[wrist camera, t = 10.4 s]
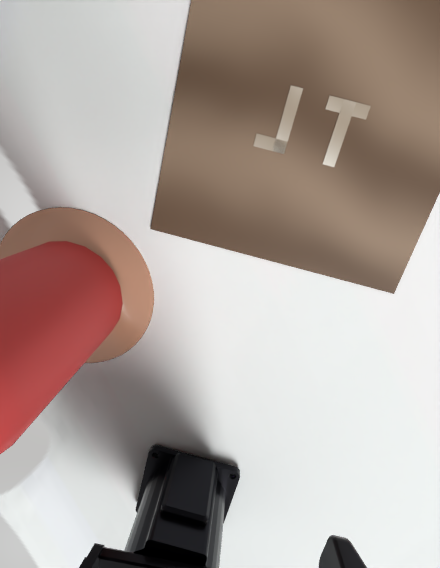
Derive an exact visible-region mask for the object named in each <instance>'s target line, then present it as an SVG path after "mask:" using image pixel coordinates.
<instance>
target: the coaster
mask: <svg viewBox="0 0 440 568" xmlns="http://www.w3.org/2000/svg"><path fill="white" fill-rule="evenodd" d="M49 241H68V242H72V243H75V244H78V245H82V246H85V247H87V248H88V249H90V250H91V251H93V252H94V253H96V254H97V255H99V256H101V257H102V259H103V260H104V261H105V262H106V263H107V264H108V265H109V266H110V268H111V269H112V270H113V272H114V274H115V276H116V278H117V280H118V282H119V284H120V288H121V295H122V302H123V305H122V310H121V315H120V319H119V321H118V322H117V324H116V326H115V327H114V329H113V331H112V332H111V333H110V334H109V335H108V337H107V338H106V339H105V340H104V341H103V342H102V343H101V345H100V346H99V347H98V348H97V349H96V350H95V351H94V353H93V354H92V355H91V356H90V357H89V358H88V359H87V361H86V362H85V363H96V362H103V361H107V360H110V359H113V358H116V357H118V356H120V355H122V354H124V353H125V352H127V351H128V350H129V349H131V348H132V347H133V346H134V345H135V344H136V343H137V342H138V341H139V340H140V339H141V337H142V336H143V334H144V333H145V331H146V329H147V327H148V325H149V322H150V320H151V316H152V312H153V305H154V291H153V284H152V280H151V276H150V273H149V270H148V268H147V265H146V263H145V261H144V259H143V257H142V256H141V254H140V252H139V251H138V249H137V248H136V247H135V245H134V244H133V243H132V241H131V240H130V239H129V238H128V237H127V236H126V235H125V234H124V233H123V232H122V231H120V230H119V229H118V228H117V227H115V226H114V225H113V224H111V223H110V222H108V221H106V220H105V219H103V218H101V217H99V216H97V215H95V214H92V213H89V212H86V211H83V210H78V209H73V208H61V207H60V208H49V209H44V210H40V211H37V212H34V213H32V214H29V215H27V216H26V217H24V218H23V219H21V220H19V221H18V222H17V223H16V224H15V225H13V226H12V227H11V229H10V230H9V231H8V232H7V233H6V235H5V236H4V238H3V240H2V241H1V244H0V259H2V258H5V257H8V256H11V255H13V254H16V253H19V252H22V251H24V250H27V249H30V248H33V247H35V246H38V245H41V244H44V243H46V242H49Z"/></svg>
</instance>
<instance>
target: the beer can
mask: <svg viewBox="0 0 440 568" xmlns="http://www.w3.org/2000/svg"><path fill="white" fill-rule="evenodd" d="M122 305H123V302H122V295H121V288H120V284H119V282H118V280H117V278H116V276H115V274H114V272H113V270H112V269H111V268H110V266H109V265H108V264H107V263H106V262H105V261H104V260H103V259H102V257H101V256H99V255H97V254H96V253H94V252H93V251H91V250H90V249H88V248H87V247H85V246H82V245H78V244H75V243H72V242H68V241H49V242H46V243H44V244H41V245H38V246H35V247H33V248H30V249H27V250H24V251H22V252H19V253H16V254H13V255H11V256H8V257H5V258H2V259H0V454H1V453H3V452H4V451H5V450H7V449H8V448H9V447H10V446H12V445H13V444H14V443H15V442H16V440H17V439H18V438H19V437H20V436H21V435H22V434H23V433H24V431H25V430H26V429H27V428H28V427H29V426H30V425H31V423H32V422H33V421H34V420H35V419H36V418H37V417H38V415H39V414H40V413H41V412H42V411H43V410H44V409H45V407H46V406H47V405H48V404H49V403H50V402H51V401H52V399H53V398H54V397H55V396H56V395H57V394H58V393H59V391H60V390H61V389H62V388H63V387H64V386H65V385H66V383H67V382H68V381H69V380H70V379H71V378H72V377H73V375H74V374H75V373H76V372H77V371H78V370H79V369H80V367H81V366H82V365H83V364H84V363H85V362H86V361H87V359H88V358H89V357H90V356H91V355H92V354H93V353H94V351H95V350H96V349H97V348H98V347H99V346H100V345H101V343H102V342H103V341H104V340H105V339H106V338H107V337H108V335H109V334H110V333H111V332H112V331H113V329H114V327H115V326H116V324H117V322H118V321H119V319H120V315H121V310H122Z"/></svg>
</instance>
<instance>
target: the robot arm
mask: <svg viewBox="0 0 440 568" xmlns="http://www.w3.org/2000/svg"><path fill="white" fill-rule="evenodd" d="M154 452H155V453H154ZM156 453H158V454H156ZM233 474H234V475H233ZM239 478H240V470H239V469H238V468H237V467H235V466H231V465H228V464H224V463H220V462H217V461H213V460H209V459H206V458H202V457H198V456H195V455H191V454H187V453H184V452H180V451H176V450H173V449H169V448H165V447H162V446H158V445H154V446H152V447H151V448H150V451H149V453H148V458H147V462H146V467H145V471H144V475H143V480H142V484H141V489H140V493H139V497H138V502H137V506H136V512H137V515H136V518H135V521H134V524H133V527H132V530H131V533H130V536H129V539H128V542H127V545H126V548H125V550H124V551H122V550H117V549H112V548H106V547H104V545H101V544H96V543H95V544H94V546H93V547H92V549H91V551H90V553H89V554H88V556H87V557H85V558H84V560H83V562H82V564H81V565H80V567H79V568H219V563H220V552H221V541H222V530H223V523H224V520H225V518H226V515H227V512H228V509H229V506H230V504H231V501H232V498H233V495H234V492H235V490H236V487H237V484H238V481H239ZM319 568H367V567H366V566H365V564H364V562H363V561H362V559H361V558H360V556H359V554H358V553H357V551H356V550H355V548H354V547H353V545H352V543H351V542H350V541H349V540H348V539H346V538H344V537H339V536H335V535H331V536H330V537H329V538H328V540H327V543H326V545H325V547H324V549H323V552H322V554H321V557H320V560H319Z"/></svg>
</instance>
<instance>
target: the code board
mask: <svg viewBox="0 0 440 568" xmlns="http://www.w3.org/2000/svg"><path fill="white" fill-rule="evenodd" d="M439 193H440V0H191V5H190V11H189V16H188V22H187V28H186V33H185V39H184V44H183V50H182V56H181V61H180V67H179V72H178V78H177V84H176V89H175V95H174V100H173V106H172V112H171V117H170V123H169V128H168V134H167V139H166V145H165V151H164V156H163V162H162V167H161V173H160V179H159V184H158V190H157V195H156V201H155V207H154V212H153V218H152V223H151V229H153V230H157V231H160V232H164V233H168V234H172V235H175V236H179V237H183V238H187V239H190V240H194V241H198V242H202V243H206V244H209V245H213V246H217V247H221V248H224V249H228V250H232V251H236V252H239V253H243V254H247V255H251V256H254V257H258V258H262V259H266V260H269V261H273V262H277V263H281V264H284V265H288V266H292V267H296V268H299V269H303V270H307V271H311V272H314V273H318V274H322V275H326V276H329V277H333V278H337V279H341V280H345V281H348V282H352V283H356V284H360V285H363V286H367V287H371V288H375V289H378V290H382V291H386V292H390V293H393V294H394V292H395V290H396V288H397V286H398V283H399V281H400V279H401V277H402V275H403V272H404V270H405V268H406V266H407V263H408V261H409V259H410V257H411V255H412V252H413V250H414V248H415V246H416V244H417V241H418V239H419V237H420V235H421V232H422V230H423V228H424V226H425V224H426V221H427V219H428V217H429V215H430V213H431V210H432V208H433V206H434V204H435V201H436V199H437V197H438V195H439Z"/></svg>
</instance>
